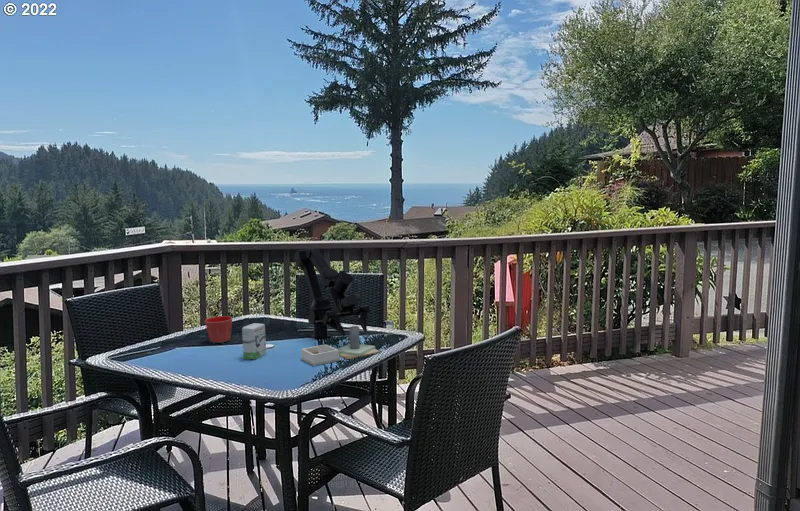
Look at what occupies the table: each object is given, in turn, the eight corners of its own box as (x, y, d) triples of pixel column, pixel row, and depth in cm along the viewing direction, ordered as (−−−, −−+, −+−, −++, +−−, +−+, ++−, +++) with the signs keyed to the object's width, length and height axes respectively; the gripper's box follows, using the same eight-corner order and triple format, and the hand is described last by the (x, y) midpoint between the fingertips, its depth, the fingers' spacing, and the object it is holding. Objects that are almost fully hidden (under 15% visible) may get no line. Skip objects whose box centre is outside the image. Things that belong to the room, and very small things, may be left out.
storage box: (301, 359, 214) (301, 348, 213) (326, 354, 219) (326, 344, 219) (313, 366, 205) (313, 355, 205) (339, 360, 211) (338, 350, 210)
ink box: (254, 360, 215) (252, 328, 213) (242, 359, 216) (241, 328, 215) (267, 353, 223) (265, 323, 221) (255, 352, 224) (253, 322, 223)
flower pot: (200, 344, 239) (199, 320, 238) (218, 337, 249) (216, 315, 248) (221, 346, 235) (220, 322, 234) (239, 339, 245) (237, 316, 244)
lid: (334, 352, 219) (333, 329, 218) (351, 345, 229) (350, 322, 228) (359, 356, 214) (358, 332, 213) (375, 348, 223) (374, 325, 222)
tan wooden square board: (330, 351, 223) (329, 349, 223) (361, 345, 231) (361, 343, 231) (347, 359, 212) (347, 358, 212) (380, 352, 219) (380, 351, 219)
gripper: (324, 290, 217) (339, 325, 209) (368, 284, 227) (384, 317, 219) (316, 307, 225) (330, 342, 217) (358, 301, 235) (373, 333, 227)
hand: (355, 333), depth 220 cm, fingers open, 9 cm apart
